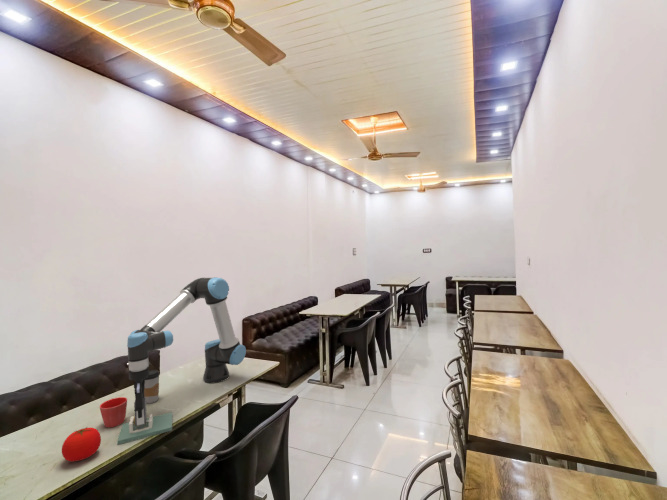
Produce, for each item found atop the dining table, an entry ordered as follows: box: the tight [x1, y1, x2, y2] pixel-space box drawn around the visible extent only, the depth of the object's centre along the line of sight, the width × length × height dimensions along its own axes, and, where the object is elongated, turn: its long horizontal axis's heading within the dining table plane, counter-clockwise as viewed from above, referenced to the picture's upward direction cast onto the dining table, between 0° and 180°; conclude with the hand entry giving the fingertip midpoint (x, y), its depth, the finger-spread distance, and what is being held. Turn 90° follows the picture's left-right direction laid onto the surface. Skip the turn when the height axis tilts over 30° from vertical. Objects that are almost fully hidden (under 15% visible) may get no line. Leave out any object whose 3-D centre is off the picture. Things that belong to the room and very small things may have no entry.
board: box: [116, 411, 173, 446], centre depth 142 cm, size 20×15×6 cm
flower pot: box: [99, 396, 128, 429], centre depth 149 cm, size 11×11×10 cm
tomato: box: [61, 426, 102, 463], centre depth 124 cm, size 12×12×10 cm
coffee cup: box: [144, 369, 160, 404], centre depth 170 cm, size 8×8×15 cm
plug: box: [133, 398, 148, 427], centre depth 141 cm, size 5×4×10 cm
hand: (141, 421), depth 141 cm, fingers closed on plug, 4 cm apart
